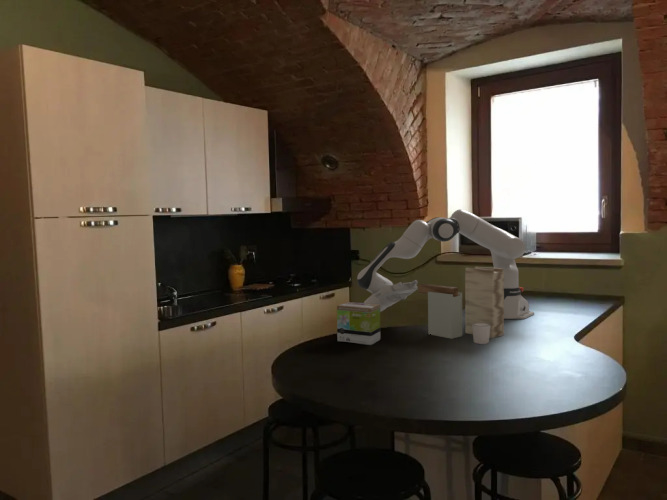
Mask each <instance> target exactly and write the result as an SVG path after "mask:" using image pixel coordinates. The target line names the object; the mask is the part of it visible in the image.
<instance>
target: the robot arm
mask: <svg viewBox="0 0 667 500" xmlns="http://www.w3.org/2000/svg"><path fill="white" fill-rule="evenodd" d="M457 234H460V235H462V236H464V237H466V238H467V239H469V240H470V241H472V242H474V243H476V244H477V245H479V246H481V247H483V248H486V249H488V250H489V252H490V253H491V260H492V264H493V268H502V269H503V271H504V320H505V319H506V320H507V319H508V320H510V319H511V320H516V319H518V320H525V319H527V318H529V317H531V316H534V315H535V312H534V311H531V310H530V305H529V301H528V300H526V299H525V298H524V297H523V296H522V292H524V287H521V286H520V284H519V283H520V282H519V278H520V277H519V275H520V274H519V269H518V267H517V264H516V260H515V259H518V258H520V257H522V256H523V255H524V254H525V252H526V244H525V242H524V241H523V240H522V239H521V238H519V237H517V236H515V235H514V234H512V233H510V232H508V231H506V230H504V229H502V228H499V227H497V226H496V225H493V224H492V223H489V222H488V221H486V220H485V219H483V218H481V217H479V216H477V215H476V214H475V213H472V212H470V211H467V210H464V209H460V208H459V209H457V210H455V211H454V212H453V213H452V214H451V215H450V216H449V217H442V216H441V217H439V216H438V217H434V218H431V219H429V220H427V221H425V220H422V219H416V220H414V221H413V222H412V223H411V224H410V225H409V226H408V228H407V227H406V229H405V231H404V232H403V234H402V235H401V237H400V238H398V239H397V240H396V241H391V242H389V243H388V244H386V245H385V246H384V247H383V248H382V249H381V250H380V251H379V252H378V253H377V254H376V255H375V257H373V259H371V260H370V262H369V263H368V264H367V265H366V266H365V267H363V268H362V269H361V270H360V271H359V272H358V274H357V277H356V282H357V285H358V287H359V288H361V289H363V290H366V291H368V292H369V293H371V295H370V296H368V298H367V299H365V300H364V302H363V303H367V304H380V313H381V312H383V311H384V310H386V309H387V308H389V307H392V306H393V305H394V304H396V303H398V302H401V301H403V300H405V299H407V297H408V296H410V295H412V294H413V293H414V292H416V291H417V290H418V289H419V288H418V286H417V285H419V284H418V283H419V282H418V279H415V280H412V281H411V282H410V281H409V282H402V281H399V282H398V283H393V281H391V280H390V279H388V278H387V277H385V276H383V275H381V274H380V273H378V272H377V271H378V270H379V268H380V267H382V265H384V263H385V262H386V261H387V260H389V259H390V258H399V259H405V260H409V259H413V258H415V257H416V256H417V255H418V254H419V253H420V252H421V250H422V248H423V247H424V245H426V243H427V242H428V241H429V240H430V239H434V240H436V241H439V242H444V243H445V242H449V241H451V240H452V239H453V238H454V237H455V236H456V235H457Z"/></svg>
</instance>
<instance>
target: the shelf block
mask: <svg viewBox="0 0 667 500" xmlns="http://www.w3.org/2000/svg"><path fill="white" fill-rule="evenodd" d="M464 273H465V274H464V281H465V283H464V286H465V287H464V290H465V291H464V293H465V295H464V297H465V298H464V299H465V307H464V308H465V334H468V335H469V334H470V335H473V328H472V324H474V323H487V324H490V334H489V339H490V338H491V339H494V338H498V337H500V336H504V335H505V325H504V324H505V319H504V271H503V269H502V268H494V267H486V266H485V267H483V266H474V267H465V271H464Z"/></svg>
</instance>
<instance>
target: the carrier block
mask: <svg viewBox="0 0 667 500" xmlns="http://www.w3.org/2000/svg"><path fill="white" fill-rule="evenodd" d="M427 321H428V322H427V325H428V326H427V329H428V330H427V332H428V335H430V334H431V336H436V337H441V338H446V339H451V340H453V339H455V338H459V337H463V292H459V291H458V296H456V297H453V294H444V293H436V292H428V294H427Z"/></svg>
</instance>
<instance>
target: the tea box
mask: <svg viewBox="0 0 667 500" xmlns="http://www.w3.org/2000/svg"><path fill="white" fill-rule="evenodd" d="M336 336H337V342H345V343H354V344H359V345H367V346H373V345H374V344H376V343H377V342H379V341H380V340H381V312H380V304H367V303H364V302H352V301H347V302H344V303H340V304H339V305H336Z"/></svg>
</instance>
